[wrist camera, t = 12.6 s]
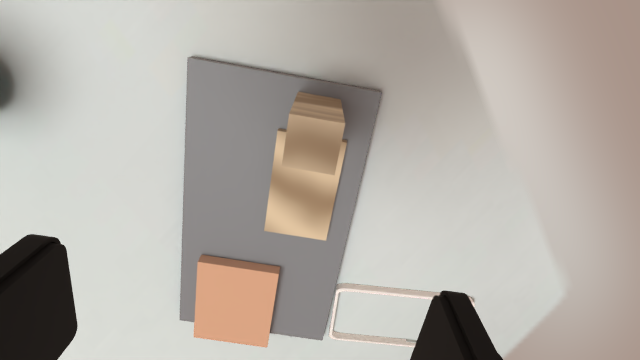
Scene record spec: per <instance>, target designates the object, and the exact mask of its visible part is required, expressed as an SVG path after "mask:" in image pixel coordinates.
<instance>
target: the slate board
mask: <svg viewBox="0 0 640 360" xmlns="http://www.w3.org/2000/svg"><path fill="white" fill-rule="evenodd" d="M298 92H303V93H309V94H314V95H320V96H325V97H331V98H336V99H341V103H342V109H343V114H344V119H345V128H344V132H343V137H342V140H347V145H346V150H345V154H344V159H343V164H342V168H341V173H340V178H339V183H338V187H337V192H336V197H335V201H334V206H333V211H332V215H331V220H330V225H329V229H328V234H327V239H326V241H325V240H318V239H312V238H306V237H299V236H293V235H287V234H280V233H274V232H268V231H264V228H265V221H266V213H267V206H268V198H269V191H270V183H271V176H272V168H273V161H274V153H275V146H276V138H277V131H278V128H279V129H285V130H287V125H288V118H289V113H290V110H291V108H292V105H293V103H294V101H295V98H296V96H297V93H298ZM381 94H382V93H381V91H378V90H372V89H367V88H361V87H356V86H350V85H345V84H339V83H334V82H329V81H323V80H318V79H312V78H307V77H301V76H296V75H290V74H285V73H279V72H274V71H268V70H263V69H257V68H252V67H246V66H241V65H235V64H230V63H224V62H219V61H214V60H208V59H203V58H197V57H188V62H187V95H186V128H185V161H184V195H183V228H182V261H181V294H180V320H183V321H190V322H195V302H196V283H197V263H198V260H199V258H200V256H201V255H207V256H214V257H220V258H227V259H233V260H240V261H246V262H253V263H259V264H266V265H272V266H279V267H280V271H279V278H278V284H277V290H276V296H275V302H274V309H273V315H272V321H271V327H270V333H274V334H281V335H288V336H295V337H302V338H309V339H316V340H323V336H324V332H325V328H326V323H327V319H328V315H329V311H330V307H331V303H332V298H333V294H334V290H335V286H336V282H337V278H338V273H339V269H340V265H341V261H342V257H343V253H344V248H345V244H346V240H347V236H348V232H349V228H350V223H351V219H352V215H353V211H354V207H355V203H356V198H357V194H358V190H359V186H360V182H361V178H362V173H363V169H364V165H365V161H366V157H367V153H368V148H369V144H370V140H371V136H372V132H373V128H374V123H375V119H376V115H377V111H378V107H379V103H380V98H381Z"/></svg>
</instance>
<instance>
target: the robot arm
mask: <svg viewBox="0 0 640 360" xmlns="http://www.w3.org/2000/svg"><path fill="white" fill-rule="evenodd" d="M76 331H77V319H76V312H75V305H74V299H73V292H72V285H71V278H70V271H69V265H68V258H67V251H66V247H65V246H64V245H62V244H61V243H60V241H59V240H58V238H55V237H48V236H41V235H34V234H31V235H27V236H25V237H23V238H22V239H21V240H19V241H18V242H17V243H15V244H14V245H13V246H11V247H10V248H9V249H7V250H6V251H4V252H3V253H2V254H0V360H57V359H58V358H59V357H60V355H61V354H62V353H63V352H64V350H65V349H66V348H67V346H68V345H69V344H70V343H71V341H72V340H73V338H74V336H75V334H76ZM410 360H503V359H502V357H501V356H500V355H499V354H498V353H497V351H496V349H495V347H494V345H493V344H492V342H491V340H490V338H489V336H488V334H487V332H486V330H485V328H484V326H483V324H482V322H481V320H480V318H479V316H478V314H477V312H476V311H475V309H474V307H473V305H472V303H471V301H470V299H469V297H468V296H467V295H466V294H465V293H458V292H451V291H442V292H441V293H440V295H439V296H438V295H435V296H434V297H433V299H432V301H431V304H430V307H429V310H428V312H427V315H426V318H425V321H424V323H423V326H422V329H421V331H420V334H419V337H418V340H417V342H416V345H415V348H414V350H413V353H412V356H411V359H410Z"/></svg>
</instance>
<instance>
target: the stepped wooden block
mask: <svg viewBox="0 0 640 360" xmlns="http://www.w3.org/2000/svg"><path fill="white" fill-rule="evenodd" d="M344 128H345V119H344V114H343V109H342V103H341V99H336V98H331V97H325V96H320V95H314V94H309V93H303V92H298V93H297V96H296V98H295V101H294V103H293V105H292V108H291V110H290V113H289V118H288V125H287V130H285V129H279V128H278V131H277V138H276V146H275V153H274V161H273V168H272V176H271V183H270V191H269V198H268V206H267V213H266V221H265V228H264V231H268V232H274V233H280V234H287V235H293V236H299V237H306V238H312V239H318V240H325V241H326V239H327V234H328V229H329V225H330V220H331V215H332V211H333V206H334V201H335V197H336V192H337V187H338V183H339V178H340V173H341V168H342V164H343V159H344V154H345V150H346V145H347V140H342V137H343V132H344Z"/></svg>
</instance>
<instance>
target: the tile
mask: <svg viewBox="0 0 640 360" xmlns="http://www.w3.org/2000/svg"><path fill="white" fill-rule="evenodd" d="M279 271H280V267H279V266H272V265H266V264H259V263H253V262H246V261H240V260H233V259H227V258H220V257H214V256H207V255H201V256H200V258H199V260H198V263H197V283H196V302H195V322H194V337H196V338H203V339H211V340H218V341H225V342H232V343H239V344H246V345H253V346H260V347H267V345H268V340H269V333H270V327H271V321H272V315H273V309H274V302H275V296H276V290H277V284H278V278H279Z"/></svg>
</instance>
